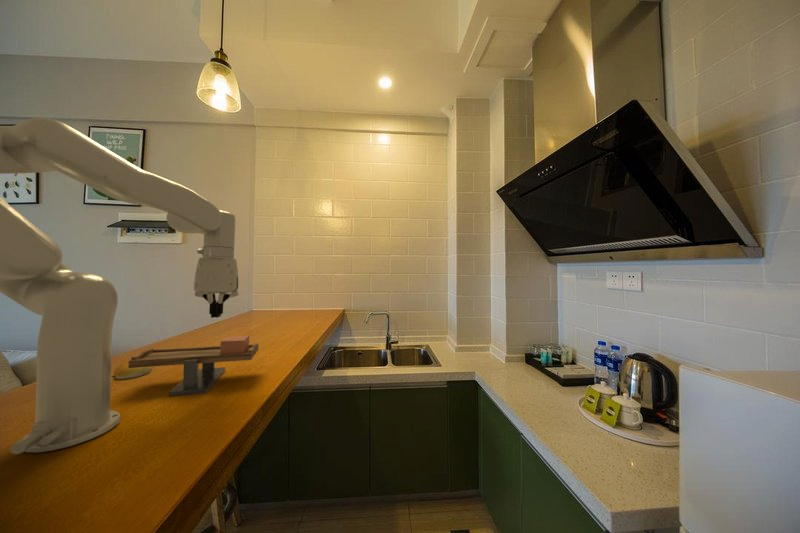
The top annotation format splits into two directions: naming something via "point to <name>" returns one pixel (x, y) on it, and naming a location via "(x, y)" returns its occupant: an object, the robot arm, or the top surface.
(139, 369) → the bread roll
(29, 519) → the top surface
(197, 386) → the balance stand
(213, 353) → the balance beam
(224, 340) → the weight block
